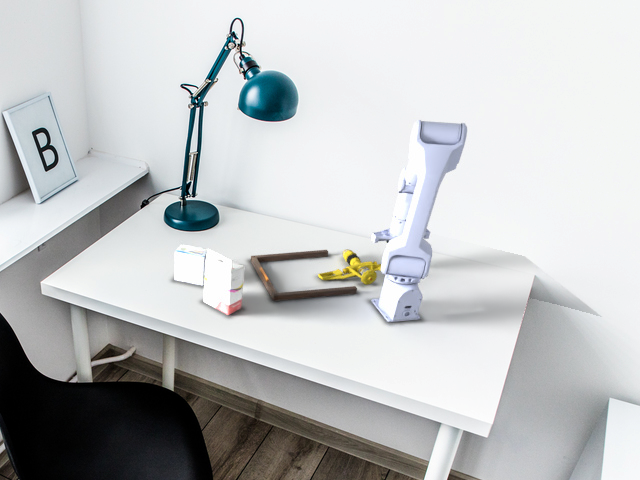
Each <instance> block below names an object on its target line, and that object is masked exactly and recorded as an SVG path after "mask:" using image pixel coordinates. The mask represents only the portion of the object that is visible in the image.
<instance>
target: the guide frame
mask: <svg viewBox="0 0 640 480" xmlns="http://www.w3.org/2000/svg"><path fill="white" fill-rule="evenodd" d="M328 256H329V250H328V249H318V250H305V251H295V252H294V251H293V252H282V253H281V252H280V253H270V254H268V253H267V254H255V255H251V256H250V262H251V264H252V266H253V268H254V269H255V272H256V273H257V275H258V276H259V278H260V280H261V282H262V284H263V285H264V287H265V289H266V290H267V292H268V294H269V296H270V298H271V299H272V301H273V302H275V301H287V300H288V301H289V300H297V299H300V300H301V299H311V298H321V297H333V296H334V297H335V296H347V295H355V294H357V292H358V288H357V286H356V285H354V286H353V285H351V286H342V287H341V286H340V287H329V288H319V289H318V288H316V289H305V290H295V291H284V292H283V291H282V292H277V290H276V288H275V287H274V285H273V283H272V281H271V280H270V278H269V276H268V275H267V273H266V271H265V269H264V268H263V266H262V264H261V263H264V262H266V263H267V262H278V261H289V260H291V261H292V260H301V259H303V260H304V259H312V258H313V259H314V258H324V257H325V258H327V257H328Z"/></svg>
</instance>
